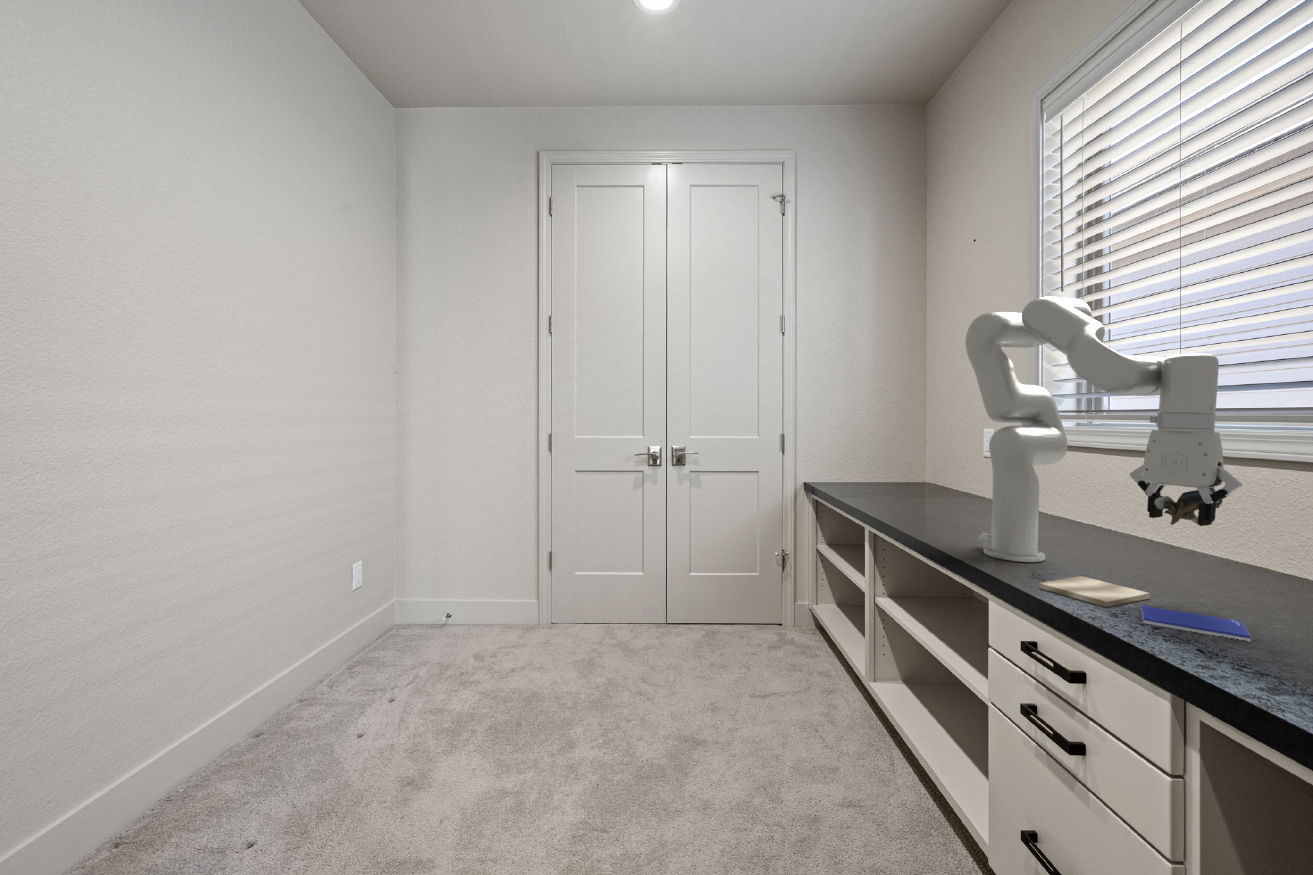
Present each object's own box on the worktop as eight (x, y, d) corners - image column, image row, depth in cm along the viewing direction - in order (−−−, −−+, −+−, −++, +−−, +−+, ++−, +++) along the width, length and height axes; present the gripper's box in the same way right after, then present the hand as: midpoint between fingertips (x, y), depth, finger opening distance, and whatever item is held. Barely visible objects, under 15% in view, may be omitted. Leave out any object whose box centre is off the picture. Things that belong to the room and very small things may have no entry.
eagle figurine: (1213, 524, 97) (1236, 511, 101) (1183, 488, 100) (1206, 476, 104) (1167, 539, 104) (1190, 526, 108) (1140, 505, 106) (1164, 493, 110)
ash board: (1039, 587, 112) (1039, 582, 112) (1080, 580, 117) (1081, 575, 117) (1106, 607, 101) (1107, 601, 101) (1149, 598, 106) (1149, 593, 106)
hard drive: (1241, 620, 92) (1141, 604, 100) (1251, 635, 86) (1143, 617, 93) (1240, 629, 92) (1140, 612, 100) (1250, 645, 86) (1143, 626, 93)
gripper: (1118, 421, 109) (1113, 513, 110) (1239, 425, 93) (1232, 532, 94) (1140, 421, 112) (1135, 511, 113) (1261, 424, 96) (1254, 529, 97)
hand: (1179, 520), depth 103 cm, fingers closed on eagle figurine, 6 cm apart
